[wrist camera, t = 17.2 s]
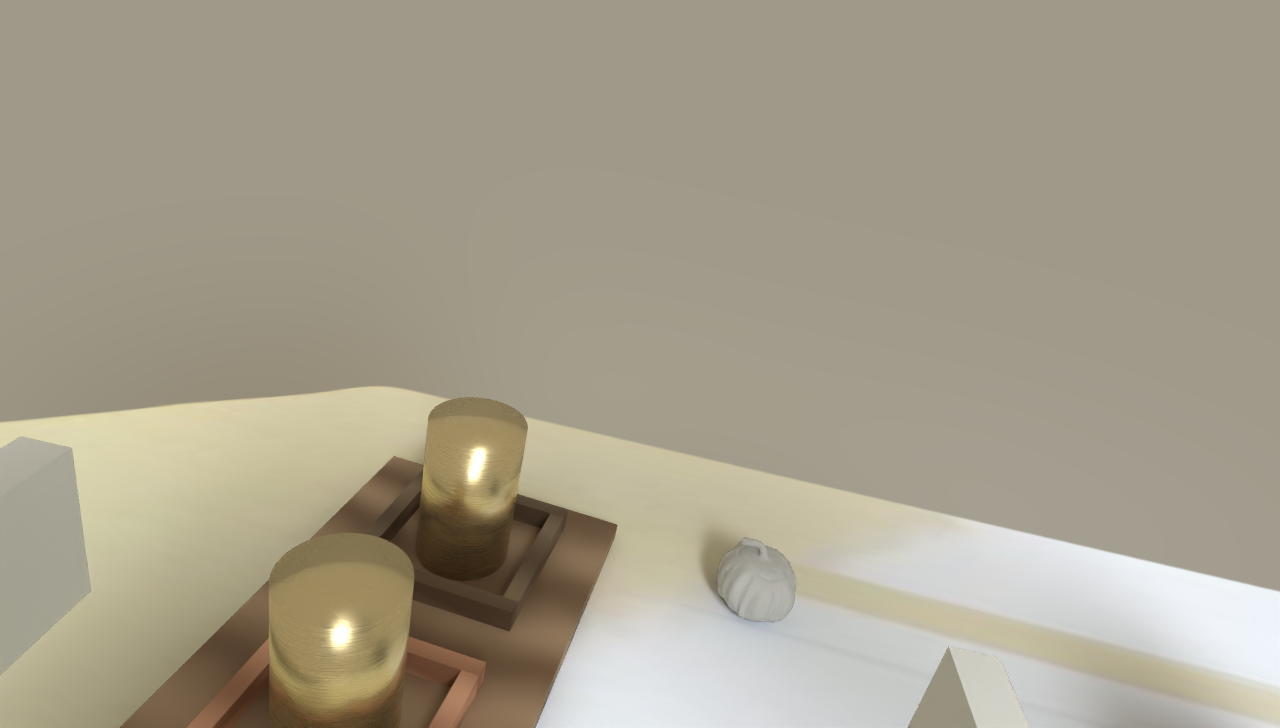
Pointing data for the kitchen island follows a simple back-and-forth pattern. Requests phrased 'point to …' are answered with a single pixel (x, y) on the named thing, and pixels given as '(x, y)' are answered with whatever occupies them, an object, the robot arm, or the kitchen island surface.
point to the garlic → (756, 581)
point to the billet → (469, 487)
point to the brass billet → (339, 633)
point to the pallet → (423, 623)
